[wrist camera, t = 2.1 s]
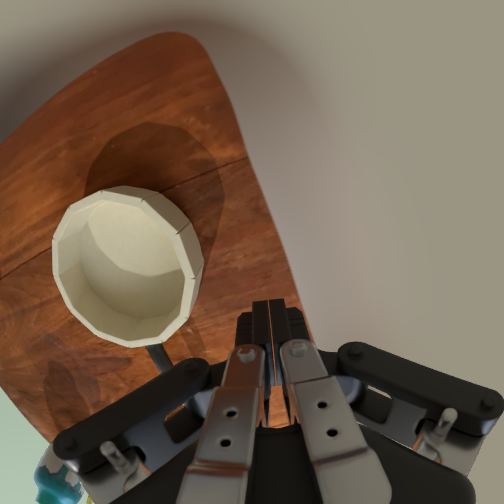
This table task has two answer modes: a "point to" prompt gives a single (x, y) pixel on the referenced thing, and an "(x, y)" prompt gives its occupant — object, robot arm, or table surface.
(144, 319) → the pan
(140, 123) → the table surface
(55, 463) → the vase
